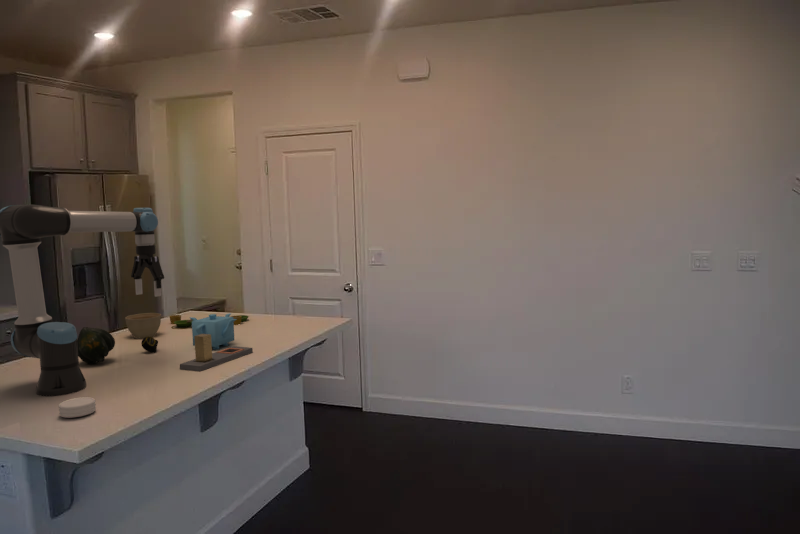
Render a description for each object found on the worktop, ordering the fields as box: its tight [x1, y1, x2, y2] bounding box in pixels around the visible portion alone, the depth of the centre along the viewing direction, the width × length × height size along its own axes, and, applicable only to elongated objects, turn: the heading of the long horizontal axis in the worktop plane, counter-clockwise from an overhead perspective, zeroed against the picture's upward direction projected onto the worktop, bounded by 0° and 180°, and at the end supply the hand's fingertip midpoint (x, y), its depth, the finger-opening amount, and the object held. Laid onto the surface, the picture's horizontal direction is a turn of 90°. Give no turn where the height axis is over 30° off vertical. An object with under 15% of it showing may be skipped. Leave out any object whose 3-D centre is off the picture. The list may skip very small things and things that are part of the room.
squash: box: [77, 326, 116, 365], centre depth 246 cm, size 14×15×15 cm
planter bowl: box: [124, 312, 162, 340], centre depth 296 cm, size 16×16×11 cm
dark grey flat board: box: [179, 345, 254, 372], centre depth 246 cm, size 32×10×2 cm, turn 156°
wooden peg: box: [194, 334, 213, 363], centre depth 238 cm, size 4×4×12 cm
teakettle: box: [189, 312, 237, 351], centre depth 272 cm, size 19×19×15 cm
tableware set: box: [169, 314, 250, 330], centre depth 326 cm, size 41×28×6 cm
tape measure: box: [140, 336, 159, 354], centre depth 264 cm, size 7×7×4 cm
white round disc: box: [58, 396, 97, 419], centre depth 185 cm, size 10×10×4 cm
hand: (148, 295), depth 255 cm, fingers open, 13 cm apart
